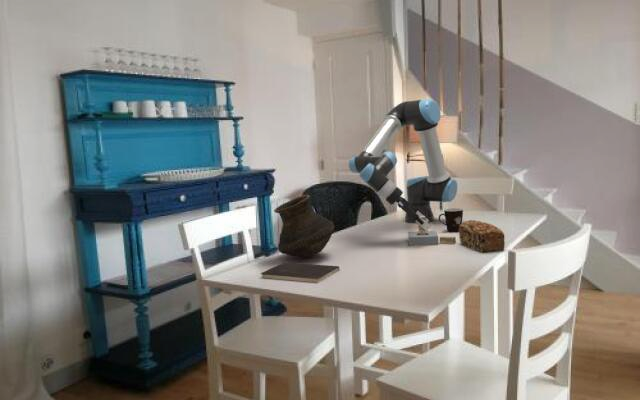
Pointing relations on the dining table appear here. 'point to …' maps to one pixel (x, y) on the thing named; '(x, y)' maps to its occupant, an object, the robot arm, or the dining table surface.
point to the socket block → (423, 238)
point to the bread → (481, 236)
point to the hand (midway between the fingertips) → (427, 225)
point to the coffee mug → (452, 219)
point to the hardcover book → (300, 272)
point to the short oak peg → (447, 240)
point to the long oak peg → (422, 230)
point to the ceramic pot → (302, 229)
